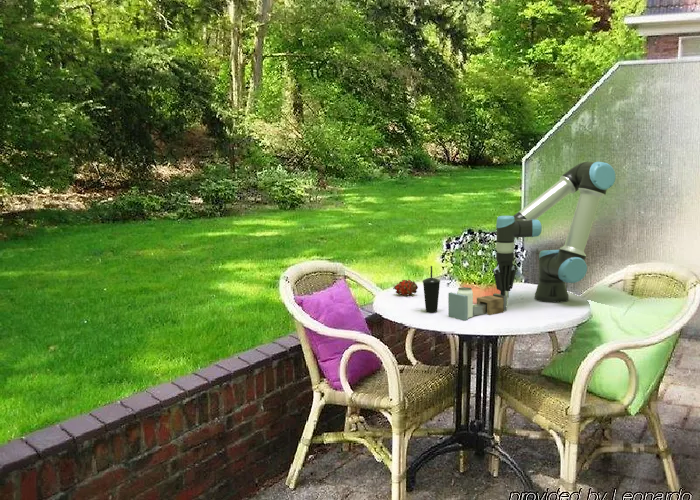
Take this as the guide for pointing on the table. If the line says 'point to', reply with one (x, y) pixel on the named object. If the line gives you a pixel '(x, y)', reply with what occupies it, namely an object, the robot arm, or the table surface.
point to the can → (469, 293)
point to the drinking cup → (431, 293)
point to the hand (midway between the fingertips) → (504, 305)
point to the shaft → (482, 307)
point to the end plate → (458, 306)
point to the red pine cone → (406, 287)
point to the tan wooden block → (492, 304)
